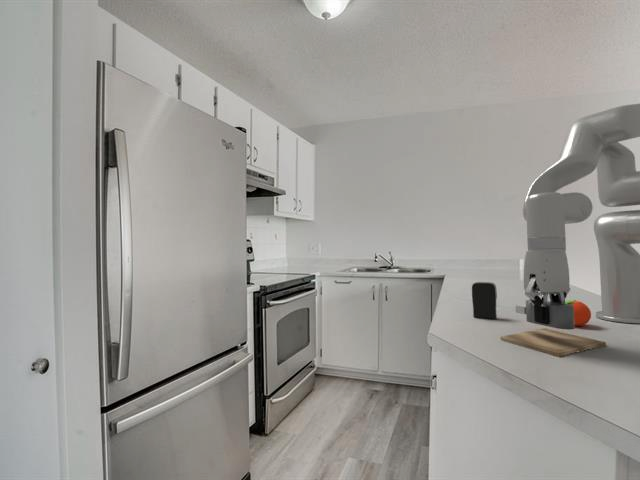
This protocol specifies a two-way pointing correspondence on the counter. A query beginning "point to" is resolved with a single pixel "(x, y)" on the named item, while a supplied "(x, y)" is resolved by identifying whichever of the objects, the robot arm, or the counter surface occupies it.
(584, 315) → the clementine
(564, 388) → the counter surface
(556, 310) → the usb stick
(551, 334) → the board
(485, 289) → the battery charger
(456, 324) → the counter surface
